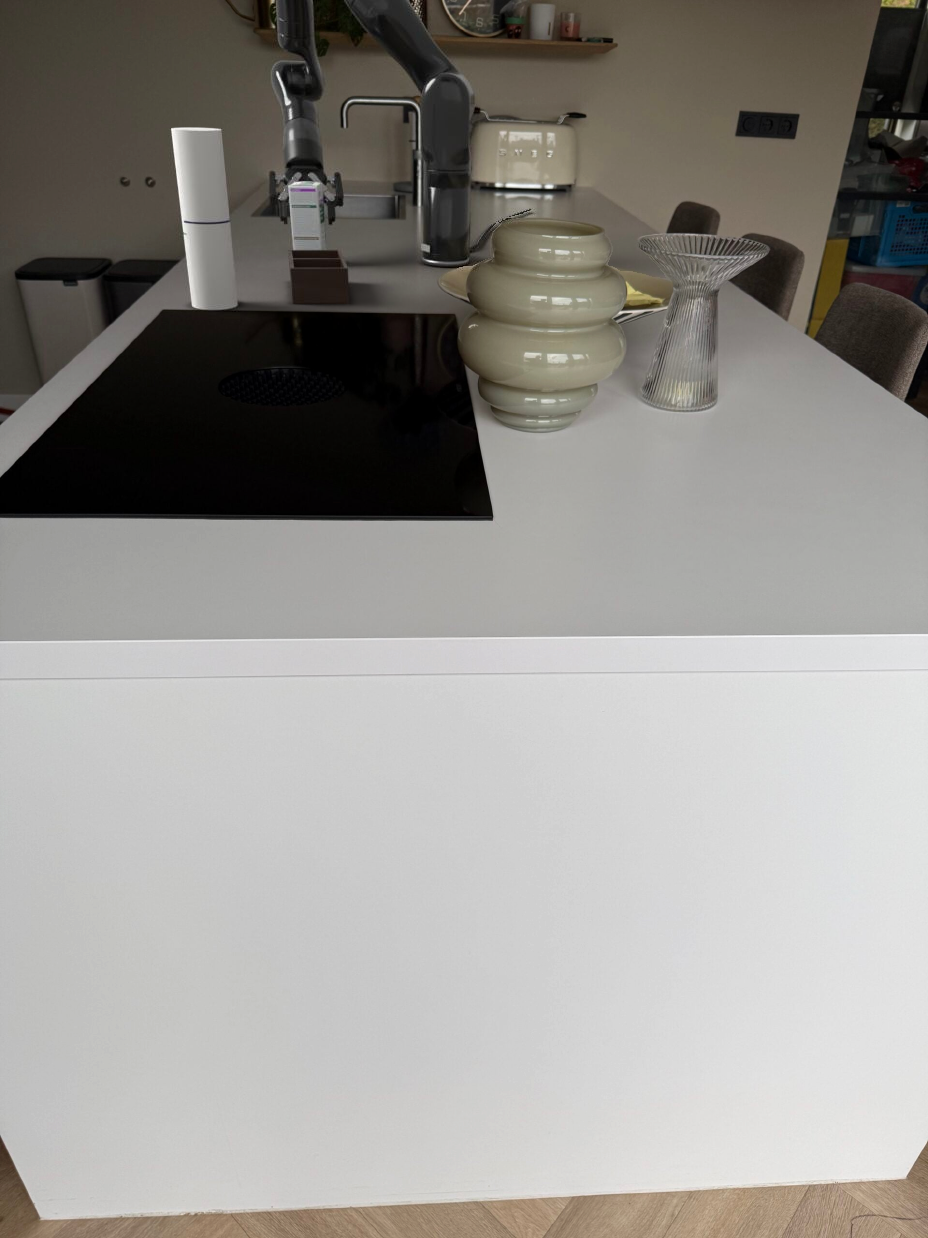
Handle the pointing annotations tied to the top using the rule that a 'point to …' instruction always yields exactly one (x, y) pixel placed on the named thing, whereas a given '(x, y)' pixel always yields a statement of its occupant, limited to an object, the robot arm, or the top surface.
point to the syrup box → (307, 215)
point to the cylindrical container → (205, 217)
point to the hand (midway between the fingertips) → (308, 221)
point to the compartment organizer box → (318, 276)
